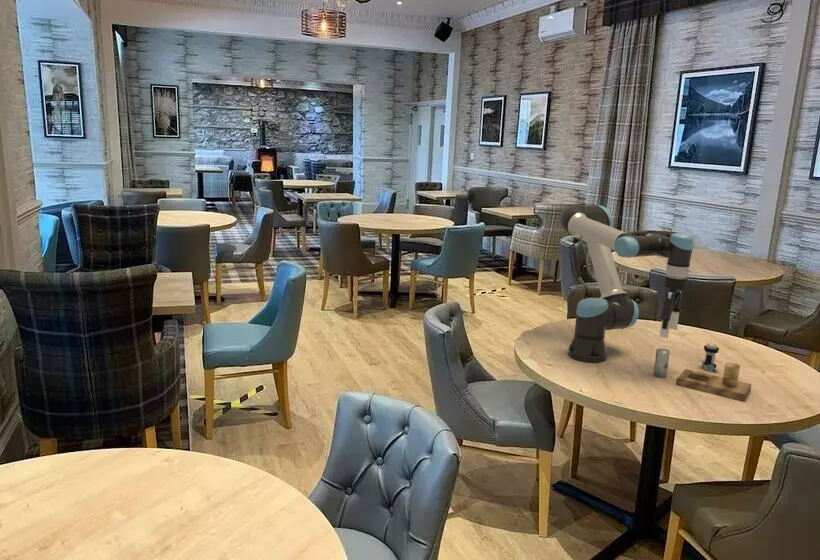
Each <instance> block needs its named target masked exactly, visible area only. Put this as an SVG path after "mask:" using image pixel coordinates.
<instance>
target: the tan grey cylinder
mask: <svg viewBox="0 0 820 560" xmlns="http://www.w3.org/2000/svg"><path fill="white" fill-rule="evenodd" d="M655 351H656V352H655V359H654V368H653V373H652V374H653V376H654V377H655V378H658V379H666V378H667V376H668V369H669V361H670V355H671V354H670V352H671V351H670V350H669V349H666V348H661V347H660V348H657V349H656V350H655Z"/></svg>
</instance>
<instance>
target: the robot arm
mask: <svg viewBox="0 0 820 560" xmlns="http://www.w3.org/2000/svg"><path fill="white" fill-rule="evenodd" d="M558 222H559V226H560V228H561V229H562V230H563V232H565V233H567V234H569V235H572V236H580V238H581V240H582V241H584V242H585V243H586V245H587V249H588V251H589V252H588V253H589V257H590V260H591V263H592V267H593V270H594V273H595V277H596V281H597V284H598V288H599V292H600V297H587V298H582V299H581V300H580V301H578V303H577V306H576V311H575V325H574V336H573V338H572V339H571V340H572V341H571V342H570V345H569V347H568V352H567V353H568V356H569V357H570V358H571V359H574V360H576V361H579V362H585V363H602V362H605V361H606V360H607V359H608V351H607V346H606V342H605V337H606V336H605V334H606V331H612V330H619V329H620V330H623V329H627V328H631V327H633V326H634V325H635V324H636V323H637V321H638V318H639V314H640V313H639V312H640V311H639V306H638V304H637V302H636V301H634V299H631V298H629V294H628V292H627V291H625V290H623V287H622V284H621V281H620V277H619V273H618V270H617V266H616V264H615V260H614V255H613V253H612V250H613V251H614V252H615V253H616V255H617V256H618V257H620V258H627V259H630V258H638V257H639V258H640V257H655V256H656V257H661V258H662V257H663V258H666V259H667V261H666V266H665V276H664V283H663V285H664V287H666V288H668V289H669V290H668V291H667V292H666V293H665V299H664V300H665V301H664V303H663V306H662V307H663V308H662V312H661V316H659V320H661V324H660V331H659V337H660V338H664V339H668V338H669V333H670V329H672V330H678V324H679V316H680V313H683V312H682V311H683V309H682V296H683V295H682V294H683V293H682V292H683V290H686V289H687V287H688V277H689V273H690V272H692V270H691V269H690V264H691V259H692V253H693V250H694V237H693V235H691V234H688V233H681V232H680V233H679V232H677V233H676V232H674V233H672V234H671V236H665V235H660V234H658V233H647V234H645V235H633V234H630V233H628V232H625V231H623V230H620V229H618V228H615V227H612V222H613V218H612V214H611V212H610V211H609V209H608V208H606V207H605V206H603V205H598V204H589V205H588V204H585V205H582V204H581V205H576V204H575V205H570V206H567V207H566V208H564V209H563V210H562V212H561V213H560V215H559V219H558Z"/></svg>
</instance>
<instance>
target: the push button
mask: <svg viewBox="0 0 820 560" xmlns="http://www.w3.org/2000/svg"><path fill="white" fill-rule="evenodd" d="M703 350H704V351H705V357H704V361H702V363H701V368H702V369H704V371H705V370H706V371H708V372H715V373H717V372H718V370H719V368H717V364H716V363H715V359H716V354H718V353H719V351H720V347H718V345H717V344H716V343H715V344H714V343H706V344H705V345H703Z"/></svg>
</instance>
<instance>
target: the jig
mask: <svg viewBox="0 0 820 560" xmlns="http://www.w3.org/2000/svg"><path fill="white" fill-rule="evenodd" d="M740 368H741V366H740V364H738V363H735V362H725V364H724V367H723V376H718V375H713V374H709V373H705V372H701V371H696V370H692V369H688V368H685V369H684V370H683V371H682V372H681V373H680V374H679V375H678V376H677V378H676V381H675V382H676V383H675V384H676V385H677V386H679V387H680V386H681V387H684V388H687V389H688V388H689V389H692V390H696V391H700V392H705V393H708V394H713V395H716V396H721V397H725V398H728V399H732V400H736V401H741V402H745V401H746V399H747V398H748V396H749V394H750V393H751V389H752V384H751V383H747V382H743V381H739V376H740V375H739V374H740V370H741V369H740Z"/></svg>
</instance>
